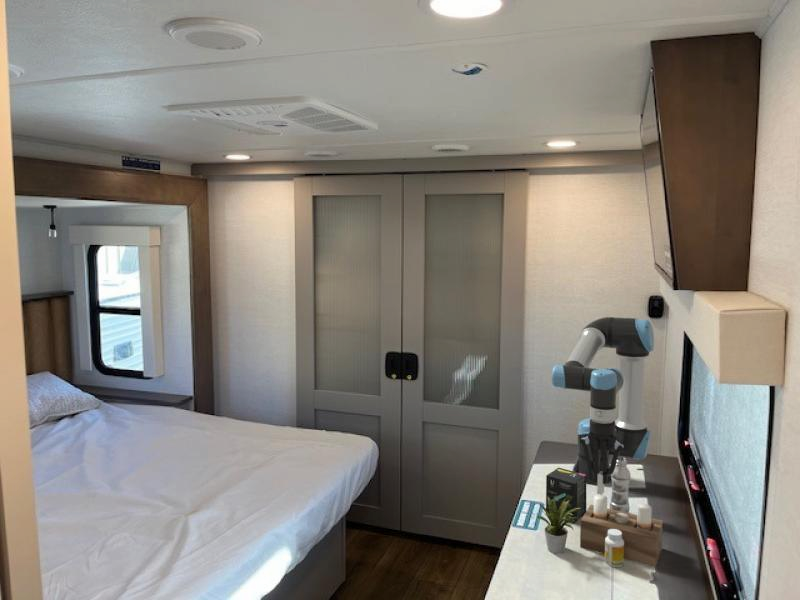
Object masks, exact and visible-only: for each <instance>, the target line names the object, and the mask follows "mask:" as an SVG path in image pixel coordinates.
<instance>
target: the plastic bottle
mask: <svg viewBox="0 0 800 600" xmlns="http://www.w3.org/2000/svg"><path fill="white" fill-rule="evenodd" d="M627 460H628V458H624V457H618V460H617V463H616V466H615V470H614V472H613V473H612V474H611V479H612V481H611V491H612V492H611V498H610V502H609V509H612V510H617V511H621V512H626V513H630V508H631V507H630V502H629V487H630V481H631V475H632V474H631V472H630V470H629V468H628V467H627V466H628V462H627Z"/></svg>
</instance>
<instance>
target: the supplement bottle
mask: <svg viewBox="0 0 800 600" xmlns="http://www.w3.org/2000/svg"><path fill="white" fill-rule="evenodd" d="M624 561H625V559H624V540H623V539H622V532H621V531H620V530H617V529H609V530H608V536H607V537H606V538H605V554H604V562H605V564H606V565H607V566H609V567H613V568H619V567H622V566H623V565H624Z"/></svg>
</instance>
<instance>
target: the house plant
mask: <svg viewBox="0 0 800 600" xmlns="http://www.w3.org/2000/svg"><path fill="white" fill-rule="evenodd" d="M568 502H569V500H568V501H566V502H565V499H564V501H563V503H562V504H561V506H560V508H559V510H558V512H557V507H556V504H555V500H554V498H553V503H554V507H553V503H552V502H551V500H550V498H549V497H548V505H549V507H548V508H549V513H550V514H549V513H548V511H547V510H546V506H544V505H543V504H541V503H540V502H539V503H538V504H539V505H540V506H541V508H542V509H543V511H541V512H543V513H544V515H545V516H546V517H547V519H546V518H545V517H544V516H542V515H536V516H535V518H536V519H538V520H539V519H540V520H542V521H543V522H545V523H547V526H544V536H545V542H546V548H547V551H548V552H550V553H552V554H555V555H559V554H562V553H564V552H565V550H566V544H567V539H568V533H569V532H568V529H567V528H569V529H572V530H573V531H574V527H573V526H572V525H571V523H570V522H573V521H575V520H573V519H574V518H578V517H573V518H572V517H571V516H568V515H569V514H571V513H572V512H575V511H574V510H576V509H580V508H575V509H572V510H570V511H567V512H564V511H565V509H566V508H567V504H568ZM546 514H547V515H546ZM564 514H565V515H564ZM563 515H564V516H563ZM571 515H573V514H571ZM562 516H563V517H562ZM561 517H562V518H561ZM566 518H570V519H568V520H567V519H566ZM565 519H566V521H564V520H565ZM569 523H570V524H569Z"/></svg>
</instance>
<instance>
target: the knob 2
mask: <svg viewBox="0 0 800 600" xmlns="http://www.w3.org/2000/svg"><path fill="white" fill-rule="evenodd" d="M636 507H637V509H636V510H637V511H636V515H637V528H639V529H644V530H648V531H651V518H652V510H653V508H652V506H651V505H649V504H647V503H646V504H645V503H639V504H637V506H636Z"/></svg>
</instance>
